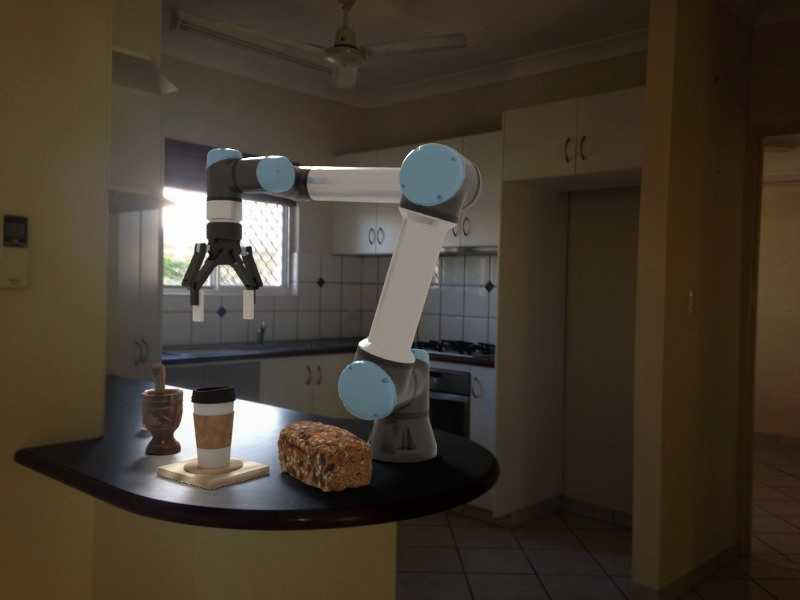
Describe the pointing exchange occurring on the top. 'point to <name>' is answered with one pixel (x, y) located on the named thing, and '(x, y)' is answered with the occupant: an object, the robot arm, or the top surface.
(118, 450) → the top surface
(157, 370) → the mortar and pestle
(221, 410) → the coffee cup
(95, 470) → the top surface
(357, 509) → the top surface
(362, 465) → the bread
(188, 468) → the board
